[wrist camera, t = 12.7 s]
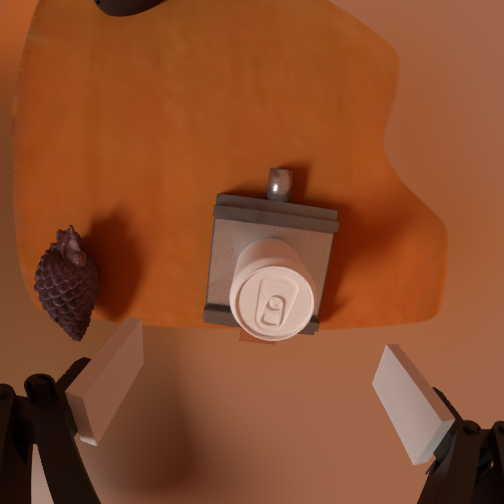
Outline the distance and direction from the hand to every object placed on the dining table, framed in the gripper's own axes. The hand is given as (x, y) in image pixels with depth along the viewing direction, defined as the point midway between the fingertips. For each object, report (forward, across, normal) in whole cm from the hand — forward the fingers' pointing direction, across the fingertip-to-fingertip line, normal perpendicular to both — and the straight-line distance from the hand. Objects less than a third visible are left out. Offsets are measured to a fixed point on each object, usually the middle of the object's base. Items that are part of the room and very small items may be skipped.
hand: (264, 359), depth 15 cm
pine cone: (+27, -27, -8) cm, 38 cm away
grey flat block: (+26, +2, -2) cm, 26 cm away
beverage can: (+24, +1, -2) cm, 24 cm away
